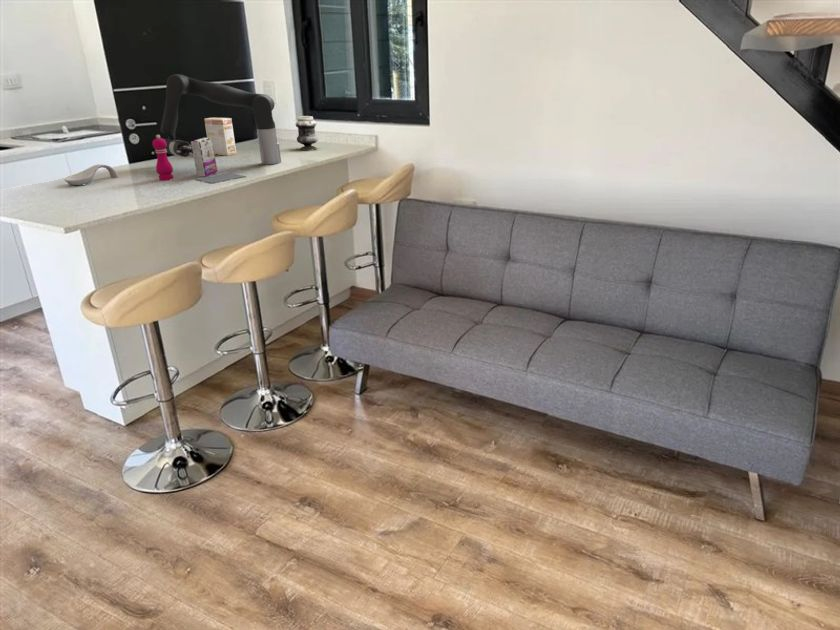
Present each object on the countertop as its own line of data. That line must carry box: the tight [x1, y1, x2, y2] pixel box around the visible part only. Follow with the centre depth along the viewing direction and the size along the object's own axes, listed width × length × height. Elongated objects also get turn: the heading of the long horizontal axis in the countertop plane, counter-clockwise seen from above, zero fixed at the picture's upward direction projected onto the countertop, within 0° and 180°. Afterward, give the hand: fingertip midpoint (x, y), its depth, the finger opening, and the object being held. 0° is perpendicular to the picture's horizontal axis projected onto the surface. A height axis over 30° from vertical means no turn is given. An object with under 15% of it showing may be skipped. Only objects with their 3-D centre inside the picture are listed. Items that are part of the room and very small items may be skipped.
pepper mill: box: [152, 134, 174, 181], centre depth 283 cm, size 7×7×20 cm
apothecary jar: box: [295, 115, 319, 151], centre depth 353 cm, size 12×12×18 cm
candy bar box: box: [190, 137, 218, 178], centre depth 290 cm, size 11×5×16 cm, turn 168°
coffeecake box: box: [204, 117, 237, 156], centre depth 346 cm, size 15×7×20 cm, turn 58°
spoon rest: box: [63, 163, 118, 186], centre depth 285 cm, size 24×12×7 cm, turn 152°
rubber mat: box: [194, 172, 247, 184], centre depth 284 cm, size 18×14×1 cm
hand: (197, 151), depth 293 cm, fingers closed
